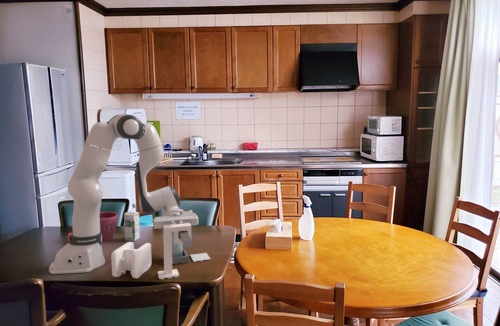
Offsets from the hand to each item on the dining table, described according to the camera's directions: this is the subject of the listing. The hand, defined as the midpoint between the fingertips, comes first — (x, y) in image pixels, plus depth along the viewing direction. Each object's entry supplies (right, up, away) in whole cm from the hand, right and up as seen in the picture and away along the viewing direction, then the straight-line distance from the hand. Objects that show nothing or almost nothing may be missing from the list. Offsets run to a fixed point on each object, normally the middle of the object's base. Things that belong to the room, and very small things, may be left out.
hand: (178, 226), depth 164 cm
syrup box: (-31, -13, +35) cm, 48 cm away
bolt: (+4, -4, -11) cm, 13 cm away
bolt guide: (0, -19, -8) cm, 20 cm away
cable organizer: (-18, -19, -7) cm, 27 cm away
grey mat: (+8, -16, +10) cm, 21 cm away
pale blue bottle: (-2, -17, +7) cm, 18 cm away
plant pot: (-46, -13, +36) cm, 60 cm away
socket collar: (-2, -17, +7) cm, 18 cm away
